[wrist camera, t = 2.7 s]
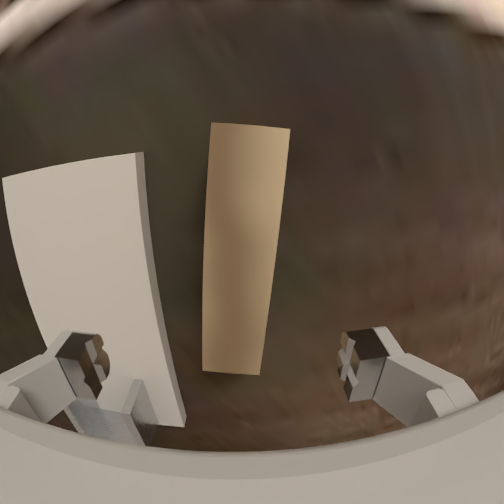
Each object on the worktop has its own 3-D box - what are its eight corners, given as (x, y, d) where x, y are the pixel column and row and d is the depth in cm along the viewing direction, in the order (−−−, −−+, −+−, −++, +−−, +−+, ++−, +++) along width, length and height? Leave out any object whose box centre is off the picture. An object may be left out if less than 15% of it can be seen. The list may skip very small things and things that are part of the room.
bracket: (143, 151, 17) (104, 157, 12) (186, 415, 26) (178, 460, 20) (14, 174, 17) (-34, 189, 12) (83, 400, 26) (65, 436, 20)
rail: (279, 132, 17) (290, 129, 12) (257, 329, 22) (259, 375, 17) (221, 128, 17) (211, 122, 12) (210, 325, 22) (202, 370, 17)
